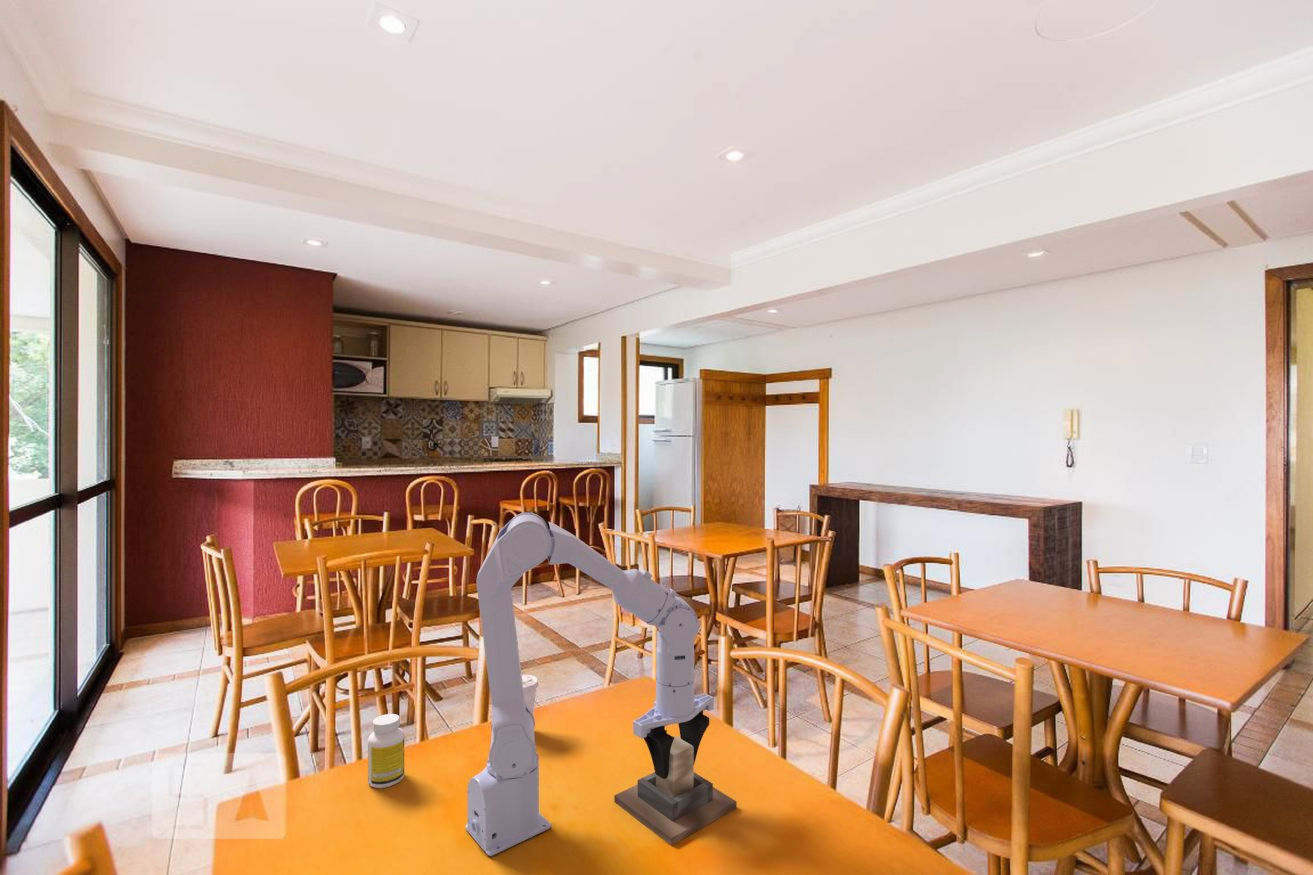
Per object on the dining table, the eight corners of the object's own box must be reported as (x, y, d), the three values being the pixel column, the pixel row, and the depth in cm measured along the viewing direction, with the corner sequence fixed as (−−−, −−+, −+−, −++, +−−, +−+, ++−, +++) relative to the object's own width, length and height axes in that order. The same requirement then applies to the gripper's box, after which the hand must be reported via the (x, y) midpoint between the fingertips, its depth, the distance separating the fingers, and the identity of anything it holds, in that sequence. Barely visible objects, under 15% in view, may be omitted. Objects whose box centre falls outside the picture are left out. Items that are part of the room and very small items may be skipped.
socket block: (671, 845, 85) (671, 819, 85) (614, 801, 95) (614, 778, 94) (736, 807, 93) (736, 784, 93) (677, 771, 103) (677, 750, 103)
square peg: (673, 809, 91) (673, 754, 91) (655, 796, 94) (655, 744, 94) (693, 798, 94) (693, 746, 93) (675, 787, 97) (675, 735, 97)
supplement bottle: (410, 779, 101) (410, 718, 100) (376, 793, 97) (376, 730, 97) (395, 766, 104) (395, 708, 104) (362, 779, 100) (361, 719, 100)
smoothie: (500, 728, 118) (500, 654, 117) (533, 721, 120) (533, 649, 120) (507, 744, 112) (507, 666, 112) (542, 736, 114) (542, 660, 114)
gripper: (691, 659, 101) (691, 743, 101) (620, 683, 92) (620, 774, 92) (723, 672, 96) (723, 760, 96) (650, 699, 86) (650, 796, 87)
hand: (675, 769), depth 94 cm, fingers open, 5 cm apart
